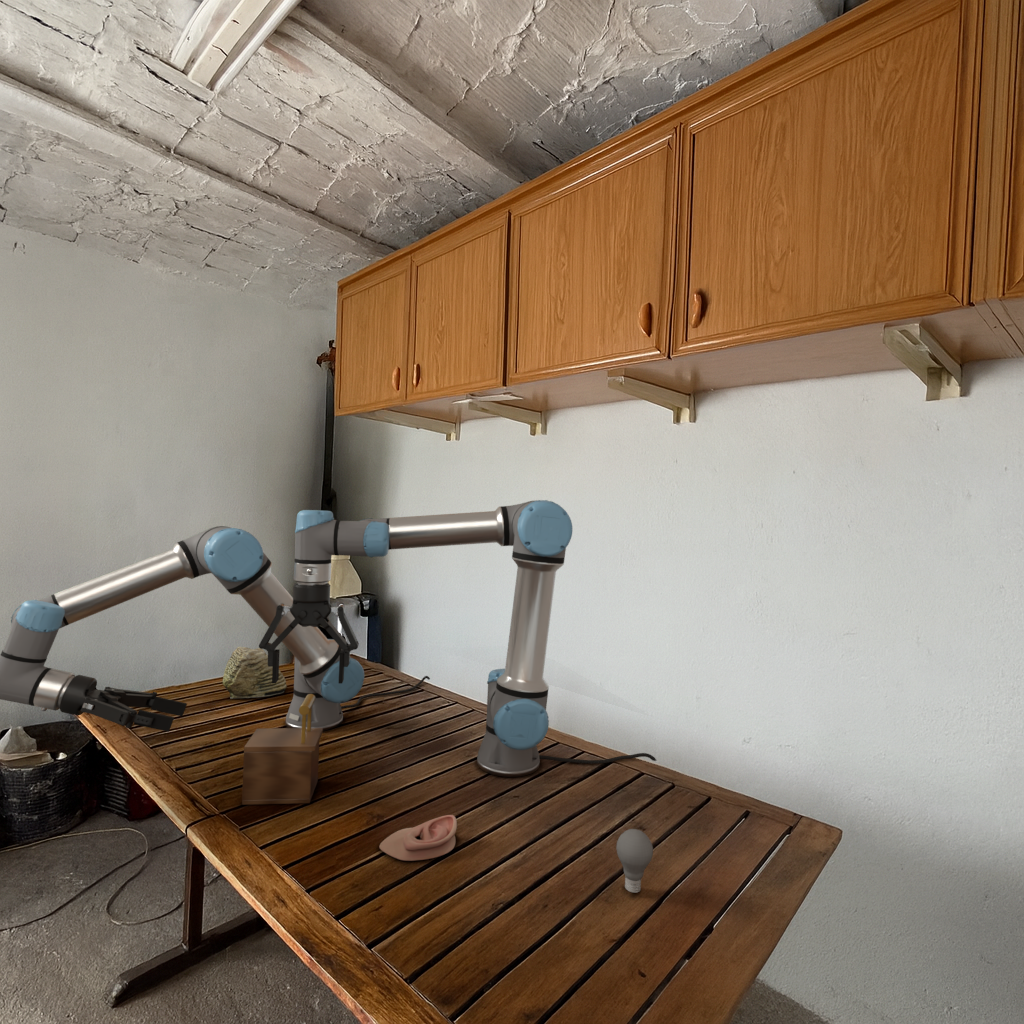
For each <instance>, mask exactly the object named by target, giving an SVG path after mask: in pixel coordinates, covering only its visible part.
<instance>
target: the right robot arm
mask: <svg viewBox="0 0 1024 1024" xmlns="http://www.w3.org/2000/svg"><path fill="white" fill-rule="evenodd" d="M572 537H573V522H572V519H571V517H570V515H569V514H568V512H567V510H565V508H564V507H562V506H561V505H560V504H559V503H556V502H555V501H552V500H548V499H545V500H543V499H538V500H537V499H536V500H529V501H526V502H522V503H517V504H512V505H502V506H498V507H497V508H496V509H495V510H490V511H473V512H459V513H457V512H456V513H445V514H444V513H443V514H428V515H413V516H411V515H410V516H396V517H381V518H380V517H379V518H372V517H371V518H363V519H360V520H337V519H335V517H334V513H333V512H332V511H331V510H322V509H321V510H319V509H318V510H317V509H313V510H312V509H302V510H300V511H299V512H298V513H297V514H296V523H295V530H294V563H293V581H294V582H295V583H294V584H293V588H292V589H293V591H292V598H293V604H292V606H287V605H284V604H280V605H279V606H277V609H276V615H275V617H274V619H273V621H272V623H271V624H270V626H269V627H268V628H267V630H266V632H265V633H264V635H263V637H262V638H261V640H260V643H259V644H258V648H260V649H263V650H264V651H267V655H268V667H273V668H272V683H276V682H277V681H278V680H279V670H280V652H281V651H280V650H281V649H280V648H279V649H277V647H278V646H280V644H281V643H283V642H282V641H283V640H284V639H285V637H286V636H287V635H288V634H289V633H290V632H291V631H292V630H293V629H294V628H295V627H296V626H297V625H298V624H299V625H301V626H302V627H307V626H312V627H318V628H319V627H320V626H321V627H322V628H323V629H324V630H325V631H326V632H327V634H329V636H330V637H331V639H334V640H335V641H336V643H337V644H338V645H339V646H340V647H341V649H342V650H341V652H340V659H339V683H343V680H344V667H348V665H349V663H350V657H351V652H352V651H355V650H357V649H359V646H360V643H359V641H358V639H357V637H356V634H355V632H354V630H353V628H352V626H351V624H350V621H349V619H348V617H347V615H346V606H345V605H344V604H340V605H336V606H332V605H331V584H330V583H329V582H330V581H331V580H332V556H345V557H347V556H349V557H368V558H375V557H376V558H377V557H379V558H381V557H382V558H383V557H386V556H387V555H388V553H389V551H390V550H402V549H403V550H404V549H418V548H419V549H420V548H433V547H436V548H437V547H447V546H448V547H449V546H463V545H464V546H465V545H480V544H495V543H496V544H498V545H499V546H500V547H512V553H511V559H512V560H513V561H514V563H515V564H516V567H517V570H516V578H515V585H514V595H513V600H512V601H513V602H512V609H511V618H510V626H509V635H508V643H507V651H506V658H505V659H506V660H505V668H497V669H492V670H490V672H489V673H488V677H487V682H486V684H487V695H486V696H487V697H486V698H487V699H486V718H485V719H486V721H485V723H486V724H485V733H484V735H483V738H482V741H481V744H480V747H479V749H478V752H477V757H476V764H477V766H478V768H479V769H480V770H482V771H483V772H485V773H488V774H490V775H492V776H498V777H505V778H506V777H507V778H517V777H518V778H519V777H524V776H529V775H531V774H533V773H536V771H538V770H539V768H540V763H541V762H540V761H541V760H546V761H547V760H548V761H554V762H562V763H563V762H564V763H574V764H582V765H583V764H585V765H600V764H602V765H603V764H609V763H614V762H618V761H622V760H630V759H636V758H641V757H642V758H644V757H645V758H648V759H650V760H651V761H653V762H656V761H657V759H656V757H655V756H653V754H652V755H651V754H650V753H646V752H638V753H634V754H628V755H625V754H624V755H618V756H615V757H611V758H604V759H578V758H567V757H559V756H550V755H541V754H540V753H539V749H538V746H537V745H539V744H540V743H541V742H542V741H543V740H544V739H545V737H546V736H547V733H548V730H549V727H550V725H549V723H550V720H549V714H548V711H547V705H548V696H549V687H550V686H549V684H548V682H546V680H545V679H544V672H545V664H546V657H547V655H546V654H547V648H548V640H549V632H550V624H551V623H550V622H551V614H552V608H553V600H554V599H553V598H554V591H555V582H556V575H557V571H558V570H559V569H561V568H562V567H563V566H564V565H565V556H566V550H567V547H568V546H569V544H570V543H571V539H572ZM289 611H290V612H291V614H292V615H293V617H294V618H295V619H294V620H293V621H292V622H291V624H290V625H289V626H288V627H287V628H286V629H285V630H284V631H283V632H282V633H281V634H280V635H279V636H278V637H277V636H276V638H275V640H274V641H272V643H271V642H270V640H271V639H272V637H273V635H274V634H275V633H274V632H275V630H276V628H277V626H278V624H279V623H280V621H281V619H282V617H283V616H284V615H286V614H287V612H289ZM332 613H333V614H334V616H335V617H337V618H338V621H339V623H340V625H341V628H342V629H343V632H344V634H345V635H346V637H347V640H348V641H347V640H346V639H345V637H343V635H342V634H341V633H340V632H339V630H338V629H337V628H336V627H335V625H334V624H333V623H332V621H331V620H330V619H329V618H328V617H329V616H330V614H332Z"/></svg>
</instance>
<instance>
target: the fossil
mask: <svg viewBox="0 0 1024 1024" xmlns="http://www.w3.org/2000/svg"><path fill="white" fill-rule="evenodd" d="M272 668H273V667H268V653H266V652H265V649H260V648H259V647H258V648H251V647H247V646H246V647H245V646H238V647H237V648H236V649H235V650H233V651H232V653H231V656H230V657H229V659H228V660H227V663H226V666H225V668H224V671H223V675H222V676H223V677H222V685H223V687H224V688H225V690H226V691H228V693H229V698H230V699H250V698H264V697H271V696H275V695H281V694H284V693H285V691H286V689H287V687H288V686H287V680H286V678H285V676H284V674H283V673H282V672H281V669H279V680H278V681H277V682H276V683H272Z"/></svg>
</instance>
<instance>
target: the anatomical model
mask: <svg viewBox="0 0 1024 1024" xmlns="http://www.w3.org/2000/svg"><path fill="white" fill-rule="evenodd" d="M457 830H458V820H457V818H456V816H455V815H453V814H446V815H442V816H441V815H440V816H438V817H435V818H433V819H430V820H427V821H425V822H423V823H421V824H419V825H416V826H414V827H406V828H402V829H399V830H397V831H395V832H393V833H392V834H389V835H388V836H387V837H386V838H385V839H384V840H382V841H381V842H380V844H379V850H381V852H383V853H384V854H386V855H388V856H390V857H392V858H394V859H397V860H400V861H403V862H414V861H423V860H429V859H430V860H431V859H434V858H439V857H441V856H444V855H446V854H448V853H450V852H451V851H452V850H453V849H454V848H455V846H456V842H457V841H456V836H455V835H456V833H457Z"/></svg>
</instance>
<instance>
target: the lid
mask: <svg viewBox="0 0 1024 1024" xmlns="http://www.w3.org/2000/svg"><path fill="white" fill-rule="evenodd" d="M314 701H315V696H314V695H313V694H308V695H307V696H306V698H305V699H304V701H303V703H302V705H301V706H300V708H299V713H300V714H301V715H302V728H288V727H286V728H283V727H282V728H281V727H280V728H278V727H275V728H274V727H273V728H272V727H270V728H269V727H267V728H260V727H259V728H256V729H255V731H254V732H253V734H252V735H251V736H250V738H249V739H248V741H247V742H246V744H245V745H244V747H243V753H244V752H283V751H315V750H316V747H317V745H318V742H319V743H320V740H321V737H322V735H323V732H324V731H323V728H311V712H312V705H313V703H314ZM307 714H308V720H307V728H306V715H307Z"/></svg>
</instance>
